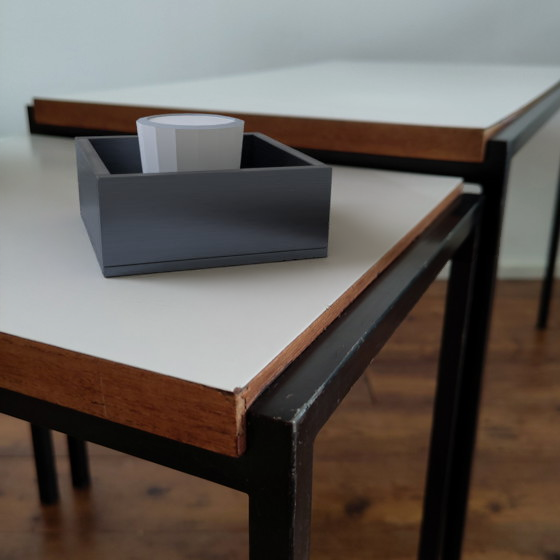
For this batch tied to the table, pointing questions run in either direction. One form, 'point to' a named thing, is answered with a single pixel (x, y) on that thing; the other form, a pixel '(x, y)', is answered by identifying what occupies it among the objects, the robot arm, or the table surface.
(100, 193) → the dark grey storage bin
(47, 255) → the table surface
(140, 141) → the white cup
